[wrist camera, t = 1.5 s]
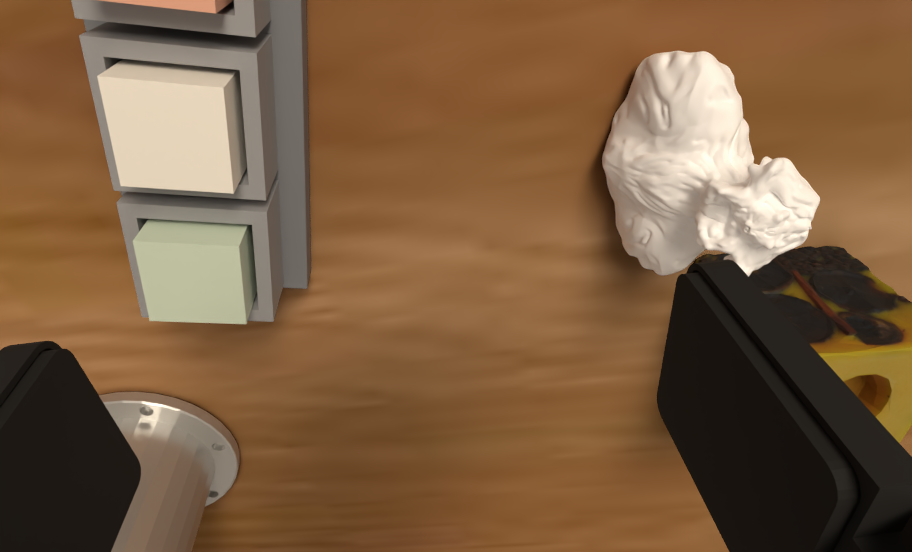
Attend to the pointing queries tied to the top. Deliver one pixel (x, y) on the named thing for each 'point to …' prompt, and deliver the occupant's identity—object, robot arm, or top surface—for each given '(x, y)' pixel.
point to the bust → (698, 171)
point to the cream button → (175, 125)
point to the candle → (847, 324)
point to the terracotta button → (181, 4)
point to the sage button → (197, 271)
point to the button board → (264, 113)
